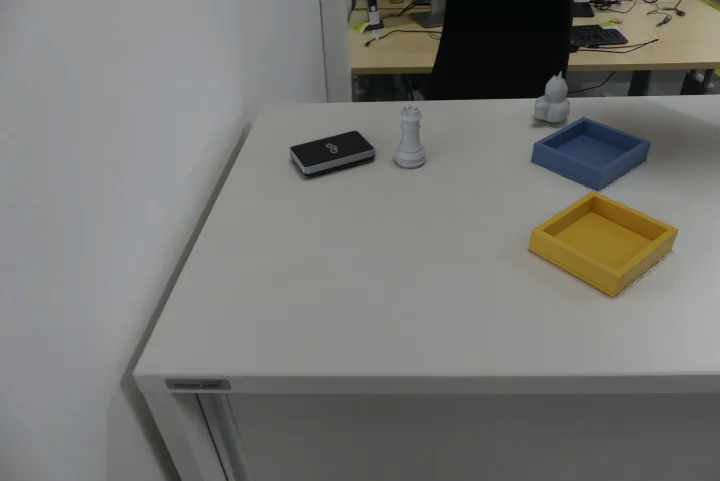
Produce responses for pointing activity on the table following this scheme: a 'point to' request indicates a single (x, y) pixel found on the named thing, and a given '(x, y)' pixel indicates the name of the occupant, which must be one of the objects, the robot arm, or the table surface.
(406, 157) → the rook chess piece
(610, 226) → the yellow tray
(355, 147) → the external hard drive
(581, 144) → the blue tray
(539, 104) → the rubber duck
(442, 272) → the table surface
